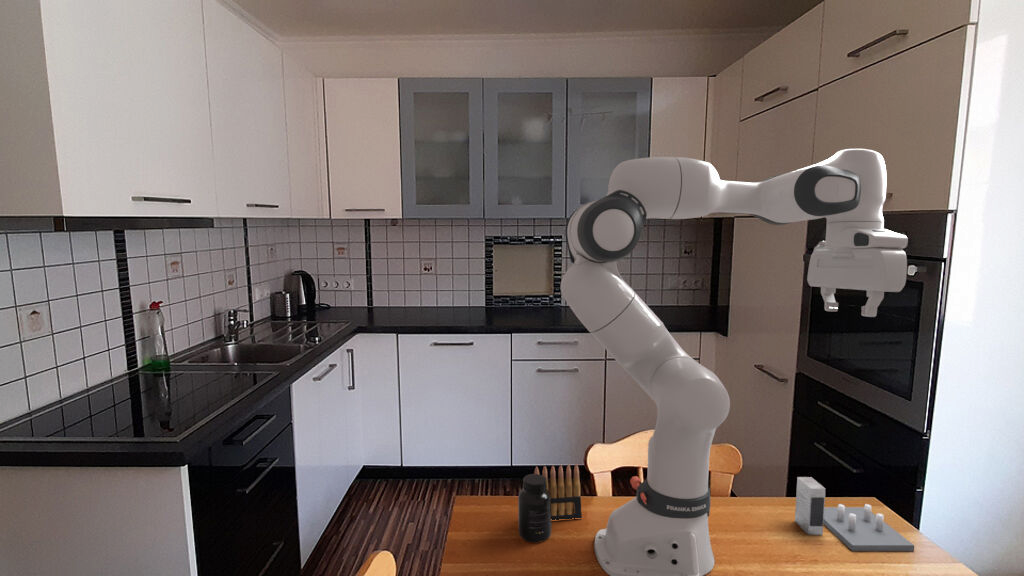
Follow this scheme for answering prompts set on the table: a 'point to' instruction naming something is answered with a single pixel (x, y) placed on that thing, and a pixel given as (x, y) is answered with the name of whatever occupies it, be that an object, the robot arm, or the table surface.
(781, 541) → the table surface
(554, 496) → the ammunition clip
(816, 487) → the block
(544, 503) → the supplement bottle
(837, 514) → the pin tray
